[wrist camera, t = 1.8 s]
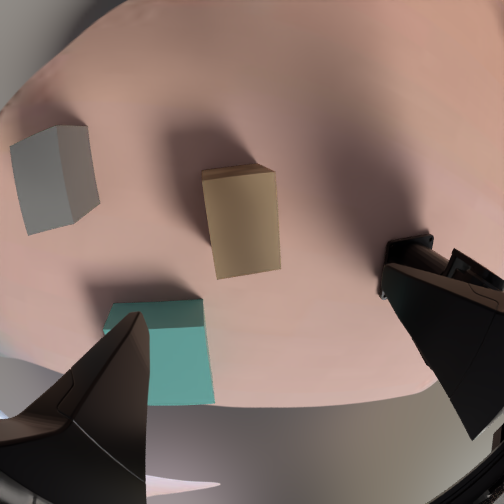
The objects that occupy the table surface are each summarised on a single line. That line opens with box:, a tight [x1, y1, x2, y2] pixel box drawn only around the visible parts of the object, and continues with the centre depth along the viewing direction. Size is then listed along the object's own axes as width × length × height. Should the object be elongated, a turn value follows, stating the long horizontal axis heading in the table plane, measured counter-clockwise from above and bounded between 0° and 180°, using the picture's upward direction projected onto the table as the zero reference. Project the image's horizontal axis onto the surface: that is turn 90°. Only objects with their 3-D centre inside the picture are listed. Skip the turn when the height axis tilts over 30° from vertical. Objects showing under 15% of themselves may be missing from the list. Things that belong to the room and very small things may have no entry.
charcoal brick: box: [10, 125, 100, 236], centre depth 14 cm, size 4×6×5 cm, turn 5°
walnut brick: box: [202, 163, 281, 280], centre depth 18 cm, size 4×6×5 cm, turn 5°
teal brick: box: [103, 299, 215, 405], centre depth 22 cm, size 8×10×4 cm
